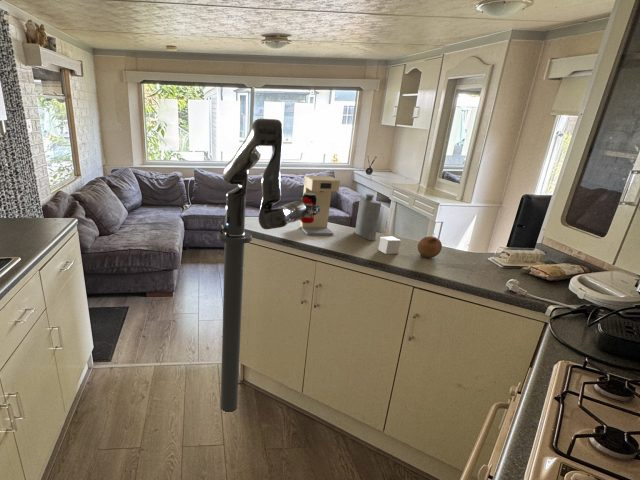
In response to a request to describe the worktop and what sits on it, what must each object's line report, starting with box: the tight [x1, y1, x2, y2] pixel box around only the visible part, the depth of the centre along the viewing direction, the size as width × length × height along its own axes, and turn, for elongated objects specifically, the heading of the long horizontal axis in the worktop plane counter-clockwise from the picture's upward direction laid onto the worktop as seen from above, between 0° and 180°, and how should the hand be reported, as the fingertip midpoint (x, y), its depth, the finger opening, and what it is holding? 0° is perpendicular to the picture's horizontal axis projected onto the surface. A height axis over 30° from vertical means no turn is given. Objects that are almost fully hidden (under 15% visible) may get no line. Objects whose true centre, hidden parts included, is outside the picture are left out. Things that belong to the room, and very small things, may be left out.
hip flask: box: [354, 193, 382, 242], centre depth 206 cm, size 16×4×20 cm, turn 15°
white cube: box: [377, 235, 401, 255], centre depth 186 cm, size 6×6×6 cm
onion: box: [417, 235, 443, 259], centre depth 181 cm, size 10×9×10 cm
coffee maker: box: [299, 175, 341, 236], centre depth 209 cm, size 14×13×26 cm
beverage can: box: [299, 193, 317, 223], centre depth 182 cm, size 6×6×12 cm
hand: (310, 206), depth 184 cm, fingers closed on beverage can, 6 cm apart
